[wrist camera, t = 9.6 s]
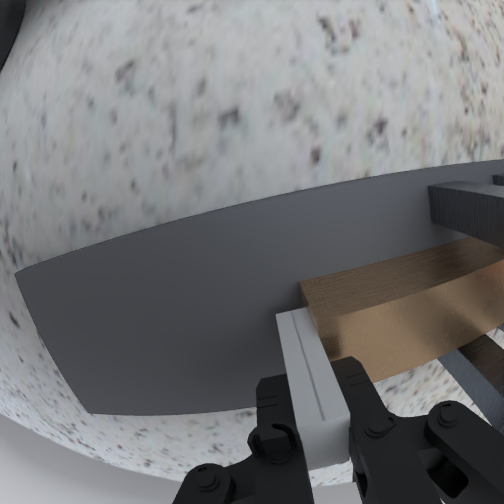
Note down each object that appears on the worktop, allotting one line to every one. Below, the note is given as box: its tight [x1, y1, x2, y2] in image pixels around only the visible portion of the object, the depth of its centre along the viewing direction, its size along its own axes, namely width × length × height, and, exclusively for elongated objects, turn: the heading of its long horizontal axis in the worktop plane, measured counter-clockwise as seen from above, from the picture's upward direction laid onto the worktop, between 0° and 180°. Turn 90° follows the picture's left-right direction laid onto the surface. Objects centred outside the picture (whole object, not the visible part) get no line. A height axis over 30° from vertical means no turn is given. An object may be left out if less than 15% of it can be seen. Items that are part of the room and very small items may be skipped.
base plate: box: [14, 159, 504, 416], centre depth 14 cm, size 40×12×1 cm, turn 103°
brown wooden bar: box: [299, 236, 504, 383], centre depth 12 cm, size 22×4×4 cm, turn 103°
